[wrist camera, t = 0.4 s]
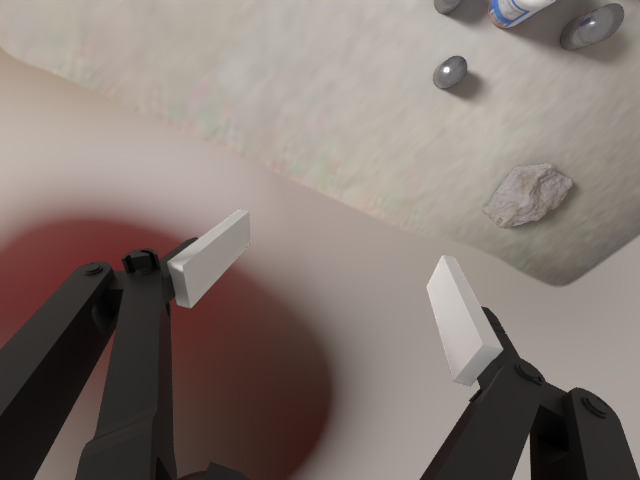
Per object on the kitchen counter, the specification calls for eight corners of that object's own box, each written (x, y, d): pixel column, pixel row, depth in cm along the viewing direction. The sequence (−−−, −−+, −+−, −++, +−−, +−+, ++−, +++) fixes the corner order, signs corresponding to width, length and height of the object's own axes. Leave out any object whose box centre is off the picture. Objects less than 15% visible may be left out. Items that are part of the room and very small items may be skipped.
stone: (568, 181, 35) (600, 194, 30) (508, 229, 40) (527, 247, 35) (526, 151, 34) (551, 159, 29) (471, 204, 39) (484, 219, 34)
